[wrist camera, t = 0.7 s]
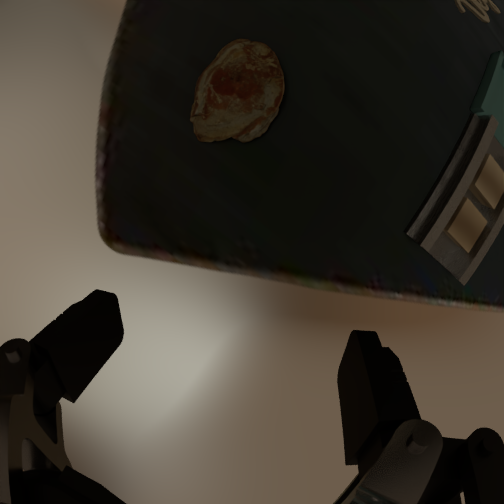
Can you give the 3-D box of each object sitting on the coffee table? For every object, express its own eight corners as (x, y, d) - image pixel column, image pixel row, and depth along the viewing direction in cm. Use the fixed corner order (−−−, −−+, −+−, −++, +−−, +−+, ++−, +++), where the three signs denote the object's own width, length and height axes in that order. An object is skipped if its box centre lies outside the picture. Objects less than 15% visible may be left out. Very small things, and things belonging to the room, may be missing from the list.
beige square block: (455, 193, 27) (467, 197, 24) (475, 216, 27) (487, 221, 24) (436, 224, 29) (447, 231, 26) (457, 245, 29) (468, 253, 26)
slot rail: (471, 113, 23) (489, 111, 19) (512, 166, 24) (530, 169, 20) (403, 231, 31) (417, 242, 27) (451, 273, 31) (466, 287, 27)
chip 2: (477, 152, 24) (490, 153, 22) (496, 176, 25) (509, 179, 22) (462, 181, 26) (474, 184, 23) (482, 204, 26) (494, 209, 24)
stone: (271, 153, 31) (270, 153, 28) (191, 139, 31) (181, 139, 28) (293, 51, 26) (293, 42, 23) (212, 42, 26) (205, 33, 23)
